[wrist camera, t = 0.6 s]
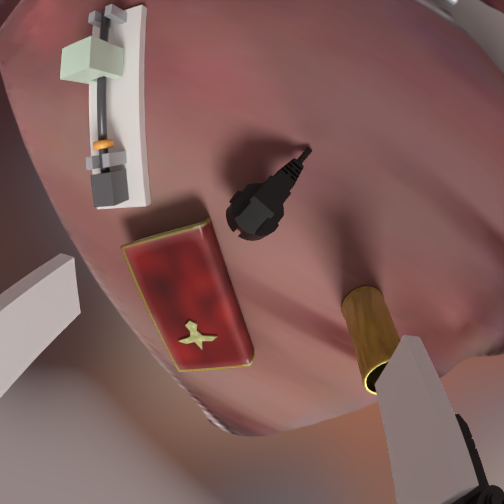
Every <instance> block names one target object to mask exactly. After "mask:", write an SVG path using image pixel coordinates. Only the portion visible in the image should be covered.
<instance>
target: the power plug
mask: <svg viewBox="0 0 504 504" xmlns="http://www.w3.org/2000/svg"><path fill="white" fill-rule="evenodd" d="M311 152H312V149H311V148H307V149H306V150H305V151H304V152H303V153H302V154H301V156H300V157H299V158H298V159H295V158H294V159H292V160H291V161H290V162H289V163H287V164H286V165H285V166H284V167H282V168H281V169H280V170H279V171H278V172H277V173H276V174H275V175H274V176H270V177H269V178H268V179H267V180H266V182H265V183H264V184H260V183H255V184H248V185H247V186H246V188H245V189H244V190H243V191H242V192H241V191H238V192H237V193H236V194H235V195H234V196H233V197H232V199H231V200H230V201H229V202H230V203H231V205H230V206H229V207H228V209H227V210H226V218H227V222H228V225H229V227H230V228H231V230H232V231H233V232H234V231H235V230H236V229H238V230H239V231H240V232H241V233H240V235H239V237H240V238H242V239H245V240H250V241H255V240H260V239H262V238H264V237H265V236H267V235H269V234H270V233H272V232H274V231H275V230H276V228H277V227H278V226H279V225H278V222H279V221H280V219H281V218H282V217H283V216H284V208H283V203H284V202H285V200H286V199H287V198H288V197H289V195H290V194H291V192H290V190H291V188H292V187H293V186H294V185H295V182H296V181H297V178H298V177H299V174H300V173H301V171H302V169H303V167H304V166H303V165H302V163H303V161H304V160H305V159H306V158H307V157H308V155H309V154H310V153H311Z"/></svg>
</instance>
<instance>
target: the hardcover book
mask: <svg viewBox="0 0 504 504" xmlns="http://www.w3.org/2000/svg"><path fill="white" fill-rule="evenodd" d="M121 249H122V252H123V254H124V257H125V259H126V262H127V264H128V267H129V269H130V272H131V274H132V277H133V279H134V281H135V284H136V286H137V288H138V291H139V293H140V295H141V297H142V300H143V302H144V304H145V306H146V308H147V310H148V313H149V315H150V317H151V319H152V321H153V323H154V325H155V327H156V329H157V331H158V333H159V336H160V338H161V340H162V341H163V343H164V345H165V347H166V349H167V351H168V353H169V355H170V357H171V359H172V361H173V363H174V364H175V366H176V368H177V370H178V372H185V371H201V370H215V369H226V368H237V367H246V366H251V364H252V363H253V361H254V357H255V350H254V348H253V345H252V342H251V339H250V336H249V333H248V331H247V328H246V325H245V322H244V319H243V316H242V313H241V310H240V307H239V304H238V301H237V299H236V296H235V293H234V290H233V287H232V284H231V281H230V278H229V275H228V272H227V269H226V266H225V263H224V260H223V256H222V253H221V250H220V247H219V244H218V241H217V238H216V235H215V232H214V229H213V225H212V222H211V219H210V217H207V218H206V219H205V220H204V221H203V222H199V223H196V224H192V225H188V226H184V227H181V228H177V229H174V230H170V231H166V232H163V233H159V234H156V235H152V236H149V237H145V238H142V239H138V240H136V241H134V242H133V243H129V244H126V245H122V246H121Z"/></svg>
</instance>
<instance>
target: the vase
mask: <svg viewBox="0 0 504 504" xmlns="http://www.w3.org/2000/svg"><path fill="white" fill-rule="evenodd" d="M342 313H343V316H344V318H345V320H346V323H347V326H348V330H349V333H350V336H351V339H352V342H353V345H354V349H355V352H356V356H357V361H358V365H359V369H360V373H361V376H362V382H363V386H364V388H365V389H366V390H367V391H368V392H369V393H371V394H375V395H377V393H376V389H375V383H376V382H377V380H378V378H379V377H380V375H381V373H382V372H383V370H384V369H385V367H386V365H387V364H388V362H389V360H390V358H391V357H392V355H393V353H394V351H395V350H396V348H397V346H398V344H399V342H400V341H401V340H400V338H399V336H398V333H397V330H396V328H395V326H394V323H393V321H392V318H391V315H390V313H389V310H388V308H387V305H386V303H385V301H384V297H383V295H382V294H381V292H380V291H379V290H378V289H376V288H374V287H370V286H363V287H359V288H357V289H355V290H353V291H352V292H350V293H349V294H348V295H347V296H346V298H345V299H344V301H343V304H342Z"/></svg>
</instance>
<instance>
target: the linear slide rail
mask: <svg viewBox="0 0 504 504" xmlns="http://www.w3.org/2000/svg"><path fill="white" fill-rule="evenodd" d="M146 15H147V8H146V7H145V6H143V5H139V6H136V7H133V8H130V9H127V10H124V11H123V10H122V9H120V8H118V7H117V6H115V5H113V4H110V5H108V6H106V7H105V9H104V10H102V14H101V13H99V12H97V11H93V12H91V13H89V19H88V23H90V24H92V25H93V31H92V36H94V37H96V38H99V39H101V40H104V41H106V42H108V43H111V44H113V45H116V46H118V47H120V48H122V49H123V77H120V78H116V79H113V78H109V77H105V76H103V77H99V78H97V85H92V84H89V124H90V144H91V156H90V157H86V168H87V170H93V175H90V176H91V185H92V194H93V201H94V207H97V209H109V208H124V207H142V206H148V205H150V204H151V198H150V188H149V176H148V164H147V149H146V131H145V101H144V60H145V32H146Z"/></svg>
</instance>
